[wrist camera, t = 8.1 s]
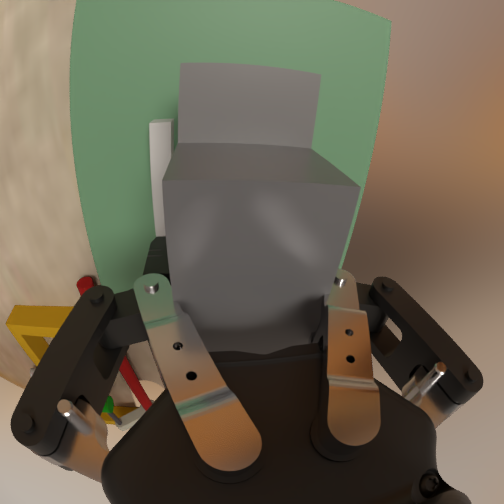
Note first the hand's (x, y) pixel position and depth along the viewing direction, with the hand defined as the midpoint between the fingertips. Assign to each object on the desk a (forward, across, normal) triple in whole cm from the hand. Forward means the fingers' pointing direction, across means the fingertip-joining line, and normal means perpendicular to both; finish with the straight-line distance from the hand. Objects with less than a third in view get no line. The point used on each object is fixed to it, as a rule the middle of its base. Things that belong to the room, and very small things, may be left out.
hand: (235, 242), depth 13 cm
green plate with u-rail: (+7, 0, -2) cm, 7 cm away
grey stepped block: (+1, 0, -1) cm, 2 cm away
